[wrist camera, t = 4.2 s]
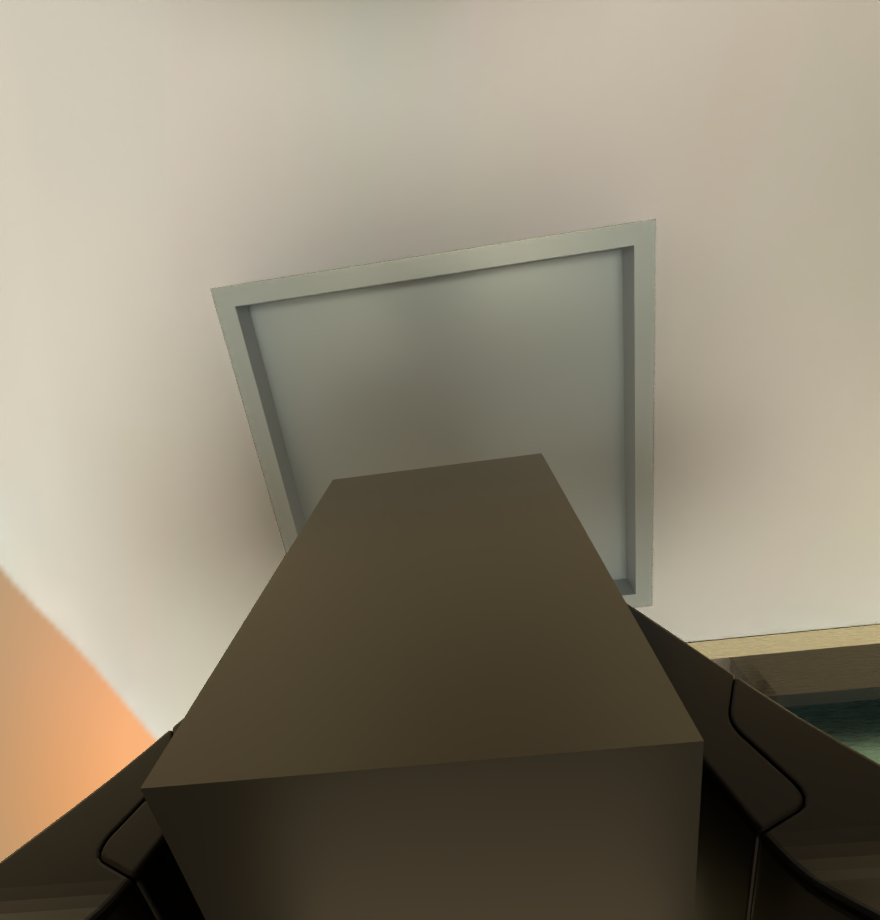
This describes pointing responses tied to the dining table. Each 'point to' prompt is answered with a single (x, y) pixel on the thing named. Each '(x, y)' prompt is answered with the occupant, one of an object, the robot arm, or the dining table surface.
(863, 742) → the double socket holder
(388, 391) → the tray
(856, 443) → the dining table surface
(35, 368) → the dining table surface
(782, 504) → the dining table surface
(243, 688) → the block
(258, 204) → the dining table surface
